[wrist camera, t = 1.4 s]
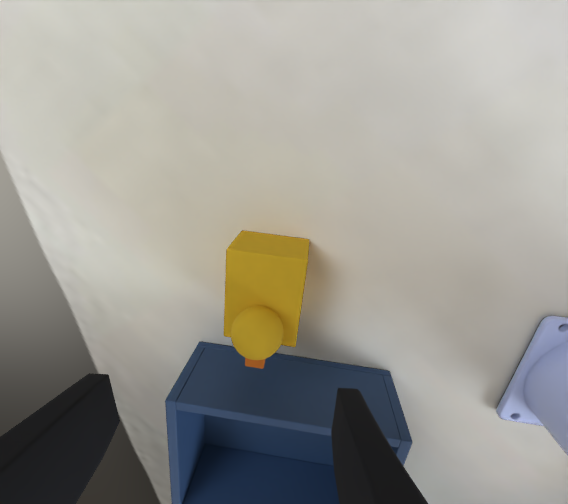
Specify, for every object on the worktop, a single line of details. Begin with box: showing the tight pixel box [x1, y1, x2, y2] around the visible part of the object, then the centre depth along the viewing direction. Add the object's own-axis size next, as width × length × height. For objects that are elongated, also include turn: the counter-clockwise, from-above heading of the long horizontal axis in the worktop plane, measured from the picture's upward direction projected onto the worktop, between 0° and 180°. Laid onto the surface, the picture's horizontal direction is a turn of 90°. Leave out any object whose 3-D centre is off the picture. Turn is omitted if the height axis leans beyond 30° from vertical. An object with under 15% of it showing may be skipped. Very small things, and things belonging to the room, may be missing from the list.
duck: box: [224, 231, 309, 369], centre depth 15 cm, size 4×6×6 cm
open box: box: [165, 342, 412, 504], centre depth 19 cm, size 13×10×5 cm
